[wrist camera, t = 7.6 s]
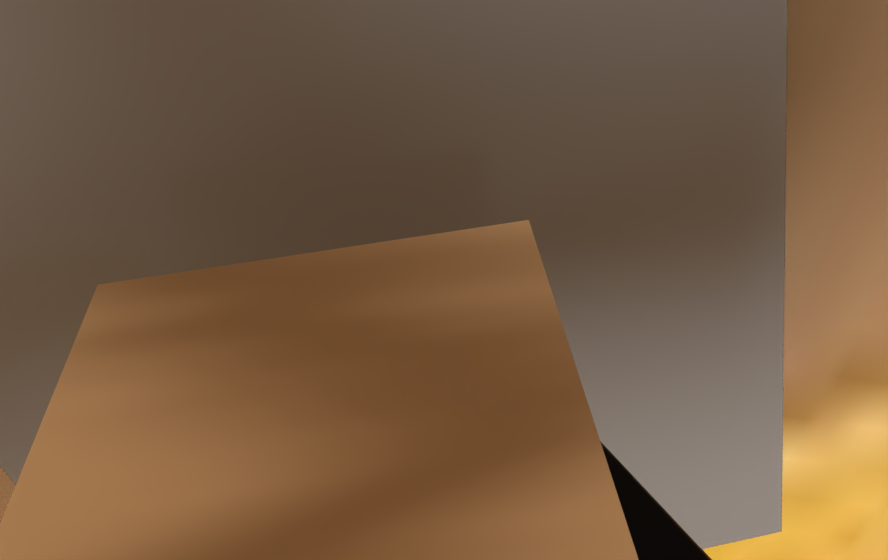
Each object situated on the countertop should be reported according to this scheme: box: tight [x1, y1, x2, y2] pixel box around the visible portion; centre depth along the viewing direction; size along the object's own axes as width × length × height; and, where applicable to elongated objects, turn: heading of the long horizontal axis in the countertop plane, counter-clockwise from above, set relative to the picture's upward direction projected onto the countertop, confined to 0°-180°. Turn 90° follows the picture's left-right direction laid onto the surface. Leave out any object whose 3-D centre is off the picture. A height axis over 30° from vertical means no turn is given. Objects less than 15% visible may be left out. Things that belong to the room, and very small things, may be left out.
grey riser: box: [0, 0, 787, 549], centre depth 15 cm, size 14×18×4 cm
